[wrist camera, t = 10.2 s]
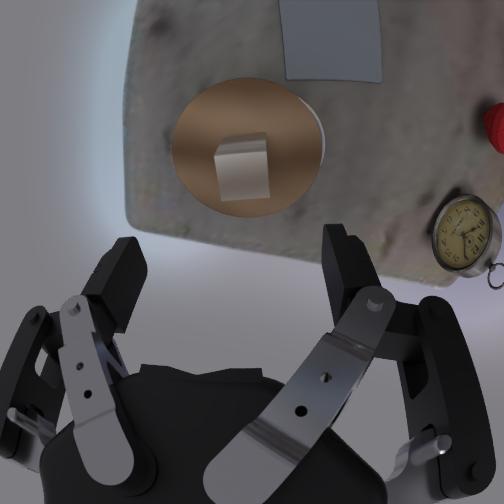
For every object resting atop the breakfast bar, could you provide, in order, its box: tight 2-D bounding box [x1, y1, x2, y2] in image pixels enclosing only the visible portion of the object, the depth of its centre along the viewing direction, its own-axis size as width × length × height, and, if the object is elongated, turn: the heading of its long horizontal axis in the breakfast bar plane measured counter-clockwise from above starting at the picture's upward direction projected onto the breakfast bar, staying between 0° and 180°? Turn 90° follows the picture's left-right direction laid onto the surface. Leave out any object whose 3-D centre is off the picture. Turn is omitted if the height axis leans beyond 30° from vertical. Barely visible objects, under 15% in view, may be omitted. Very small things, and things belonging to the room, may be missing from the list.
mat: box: [279, 0, 382, 83], centre depth 23 cm, size 11×11×1 cm
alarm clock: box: [427, 188, 504, 290], centre depth 29 cm, size 11×5×16 cm, turn 158°
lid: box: [172, 78, 322, 217], centre depth 20 cm, size 12×12×6 cm
